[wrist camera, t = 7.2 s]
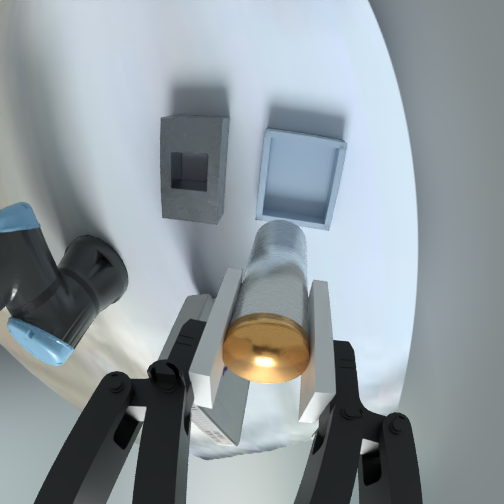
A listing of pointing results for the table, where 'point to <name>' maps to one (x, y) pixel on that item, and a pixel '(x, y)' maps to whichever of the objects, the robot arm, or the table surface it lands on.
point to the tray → (299, 178)
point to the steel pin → (271, 309)
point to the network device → (230, 386)
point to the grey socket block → (172, 186)
